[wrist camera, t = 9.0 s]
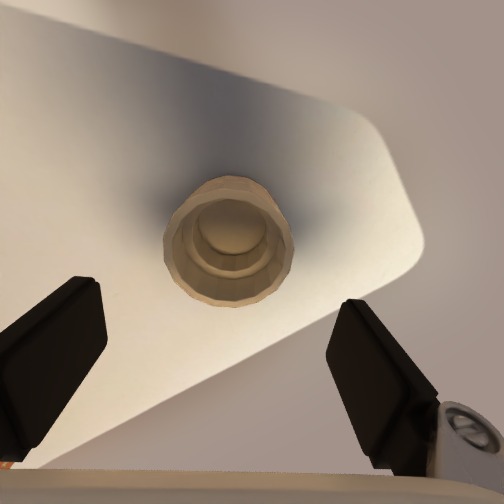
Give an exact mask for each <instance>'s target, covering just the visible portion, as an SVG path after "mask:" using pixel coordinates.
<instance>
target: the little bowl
mask: <svg viewBox="0 0 504 504" xmlns="http://www.w3.org/2000/svg"><path fill="white" fill-rule="evenodd" d="M163 248H164V262H165V264H166V266H167V268H168V270H169V272H170V274H171V276H172V278H173V280H174V282H175V283H176V284H177V285H179V286H180V287H181V288H182V289H183V290H184V291H185V292H186V293H187V294H188V295H190V296H191V297H192V298H195V299H197V300H200V301H202V302H204V303H207V304H209V305H211V306H218V307H232V308H237V307H241V306H245V305H249V304H253V303H257V302H259V301H261V300H262V299H264V298H265V297H267V296H268V295H270V294H271V293H273V292H274V291H276V290H277V289H278V287H279V286H280V285H281V283H282V282H283V280H284V279H285V278H286V276H287V275H288V273H289V271H290V268H291V263H292V259H293V254H294V245H293V240H292V236H291V231H290V227H289V225H288V223H287V221H286V219H285V218H284V216H283V214H282V212H281V211H280V209H279V207H278V205H277V204H276V202H275V201H274V199H273V198H272V197H271V195H270V194H269V193H268V191H267V190H266V189H265V188H264V187H263V186H261V185H259V184H257V183H256V182H254V181H252V180H251V179H249V178H246V177H238V176H230V175H227V176H222V177H219V178H215V179H212V180H209V181H206V182H205V183H204V184H203V185H202V186H201V187H199V188H198V189H197V190H196V191H195V192H194V193H192V194H191V196H190V197H189V198H188V199H187V200H186V201H185V202H184V203H183V204H182V205H181V206H180V207H179V208H178V209H177V210H176V211H175V212H174V214H173V215H172V218H171V220H170V222H169V224H168V227H167V229H166V231H165V233H164V237H163Z"/></svg>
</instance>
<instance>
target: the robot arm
mask: <svg viewBox="0 0 504 504" xmlns="http://www.w3.org/2000/svg"><path fill="white" fill-rule="evenodd" d="M107 341H108V336H107V330H106V323H105V316H104V310H103V303H102V296H101V290H100V284H99V283H98V282H95V279H94V278H92V277H81V276H74V277H72V278H71V279H69V280H68V281H67V282H66V283H64V284H63V285H62V286H60V287H59V288H58V289H57V290H55V291H54V292H53V293H51V294H50V295H49V296H47V297H46V298H45V299H44V300H42V301H41V302H40V303H38V304H37V305H36V306H34V307H33V308H32V309H31V310H29V311H28V312H27V313H25V314H24V315H23V316H21V317H20V318H19V319H18V320H16V321H15V322H14V323H12V324H11V325H10V326H8V327H7V328H6V329H5V330H3V331H2V332H1V333H0V462H23V460H24V459H25V457H26V456H27V454H28V453H29V451H30V450H31V449H32V448H35V447H37V446H38V445H39V444H40V443H41V442H42V440H43V439H44V437H45V436H46V434H47V433H48V431H49V430H50V428H51V427H52V425H53V424H54V423H55V421H56V420H57V418H58V417H59V415H60V414H61V412H62V411H63V409H64V408H65V406H66V405H67V403H68V402H69V400H70V399H71V397H72V396H73V395H74V393H75V392H76V390H77V389H78V387H79V386H80V384H81V383H82V381H83V380H84V378H85V377H86V375H87V374H88V372H89V371H90V369H91V368H92V367H93V365H94V364H95V362H96V361H97V359H98V358H99V356H100V355H101V353H102V352H103V350H104V349H105V347H106V345H107ZM326 361H327V363H328V366H329V368H330V371H331V373H332V376H333V378H334V381H335V383H336V386H337V388H338V391H339V393H340V396H341V398H342V401H343V404H344V406H345V408H346V411H347V413H348V416H349V419H350V421H351V424H352V426H353V429H354V431H355V434H356V436H357V439H358V441H359V444H360V446H361V449H362V451H363V453H364V454H365V455H366V456H369V458H370V461H371V463H372V466H373V468H374V469H391V470H392V472H393V474H394V476H384V475H362V474H361V475H360V474H315V473H275V472H274V473H273V472H221V471H220V472H219V471H161V470H81V469H80V470H79V469H0V504H504V438H503V437H502V435H501V434H500V432H499V431H498V430H497V429H496V428H495V427H494V426H493V425H492V424H491V423H490V422H489V421H488V420H487V419H485V418H484V417H483V416H482V415H480V414H479V413H477V412H476V411H474V410H472V409H471V408H469V407H467V406H465V405H462V404H460V403H456V402H452V401H448V402H447V401H446V402H443V403H442V404H441V403H440V402H439V401H438V400H437V398H436V396H437V395H438V392H437V391H436V389H435V388H434V387H433V386H432V385H431V383H430V382H429V381H428V380H427V378H426V377H425V376H424V374H423V373H422V372H421V371H420V370H419V368H418V367H417V366H416V365H415V363H414V362H413V361H412V359H411V358H410V357H409V356H408V355H407V353H406V352H405V351H404V350H403V348H402V347H401V346H400V345H399V343H398V342H397V341H396V340H395V338H394V337H393V336H392V335H391V333H390V332H389V331H388V330H387V329H386V327H385V326H384V325H383V323H382V322H381V321H380V320H379V318H378V317H377V316H376V315H375V313H374V312H373V311H372V310H371V308H370V307H369V306H368V305H367V303H366V302H365V301H364V300H358V299H347V301H346V302H343V303H342V305H341V308H340V311H339V314H338V317H337V320H336V323H335V326H334V329H333V332H332V335H331V338H330V341H329V344H328V347H327V350H326Z"/></svg>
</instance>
